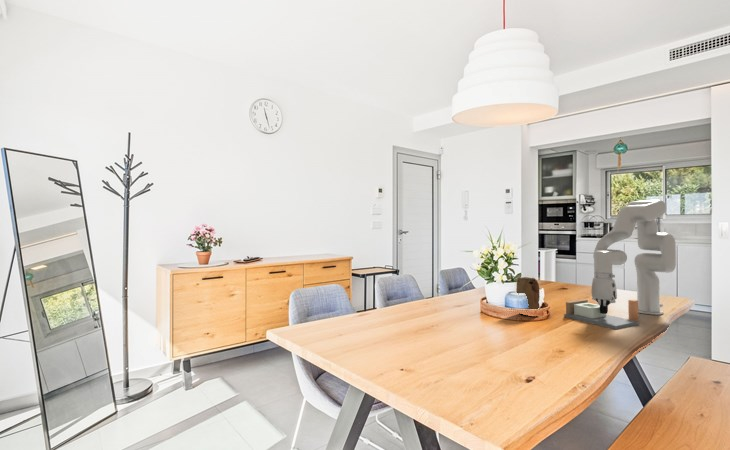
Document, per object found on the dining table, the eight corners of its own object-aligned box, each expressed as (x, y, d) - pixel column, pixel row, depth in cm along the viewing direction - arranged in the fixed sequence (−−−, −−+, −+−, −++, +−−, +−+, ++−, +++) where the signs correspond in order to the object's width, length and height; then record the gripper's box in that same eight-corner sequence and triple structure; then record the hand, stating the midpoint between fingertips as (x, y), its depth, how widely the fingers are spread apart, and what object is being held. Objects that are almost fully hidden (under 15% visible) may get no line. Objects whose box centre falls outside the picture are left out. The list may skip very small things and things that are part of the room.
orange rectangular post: (631, 319, 187) (631, 299, 187) (640, 321, 184) (640, 300, 183) (626, 320, 185) (626, 300, 185) (635, 322, 182) (635, 301, 182)
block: (515, 314, 202) (514, 276, 202) (524, 312, 206) (523, 275, 206) (532, 318, 193) (532, 279, 193) (542, 316, 196) (541, 278, 196)
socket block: (587, 312, 197) (587, 302, 197) (606, 316, 188) (606, 306, 188) (574, 314, 193) (574, 304, 193) (593, 318, 184) (592, 308, 184)
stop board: (586, 313, 202) (585, 299, 202) (638, 324, 178) (638, 308, 178) (564, 316, 195) (564, 302, 195) (615, 329, 171) (615, 312, 171)
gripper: (623, 277, 179) (624, 315, 179) (593, 273, 193) (593, 309, 193) (614, 278, 176) (615, 317, 176) (583, 274, 189) (584, 311, 189)
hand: (603, 313), depth 184 cm, fingers closed
